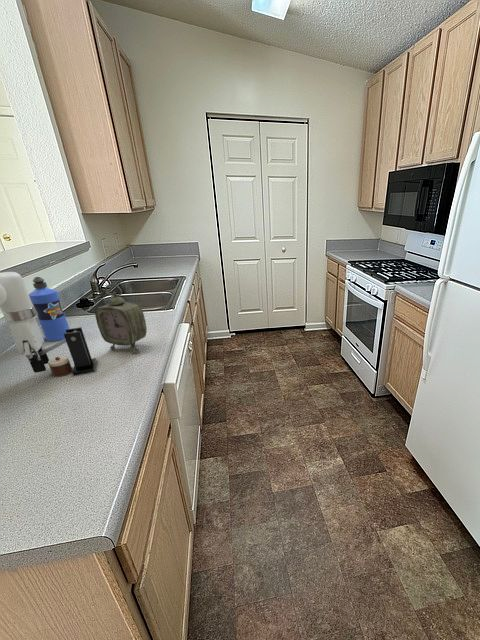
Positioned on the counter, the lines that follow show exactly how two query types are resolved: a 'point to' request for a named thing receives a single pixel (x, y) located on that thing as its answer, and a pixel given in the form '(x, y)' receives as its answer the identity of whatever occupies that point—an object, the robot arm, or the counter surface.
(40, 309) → the blue bottle
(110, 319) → the tabletop clock
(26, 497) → the counter surface
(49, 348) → the lever
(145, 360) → the counter surface
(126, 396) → the counter surface
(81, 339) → the black upright frame
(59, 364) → the cake
